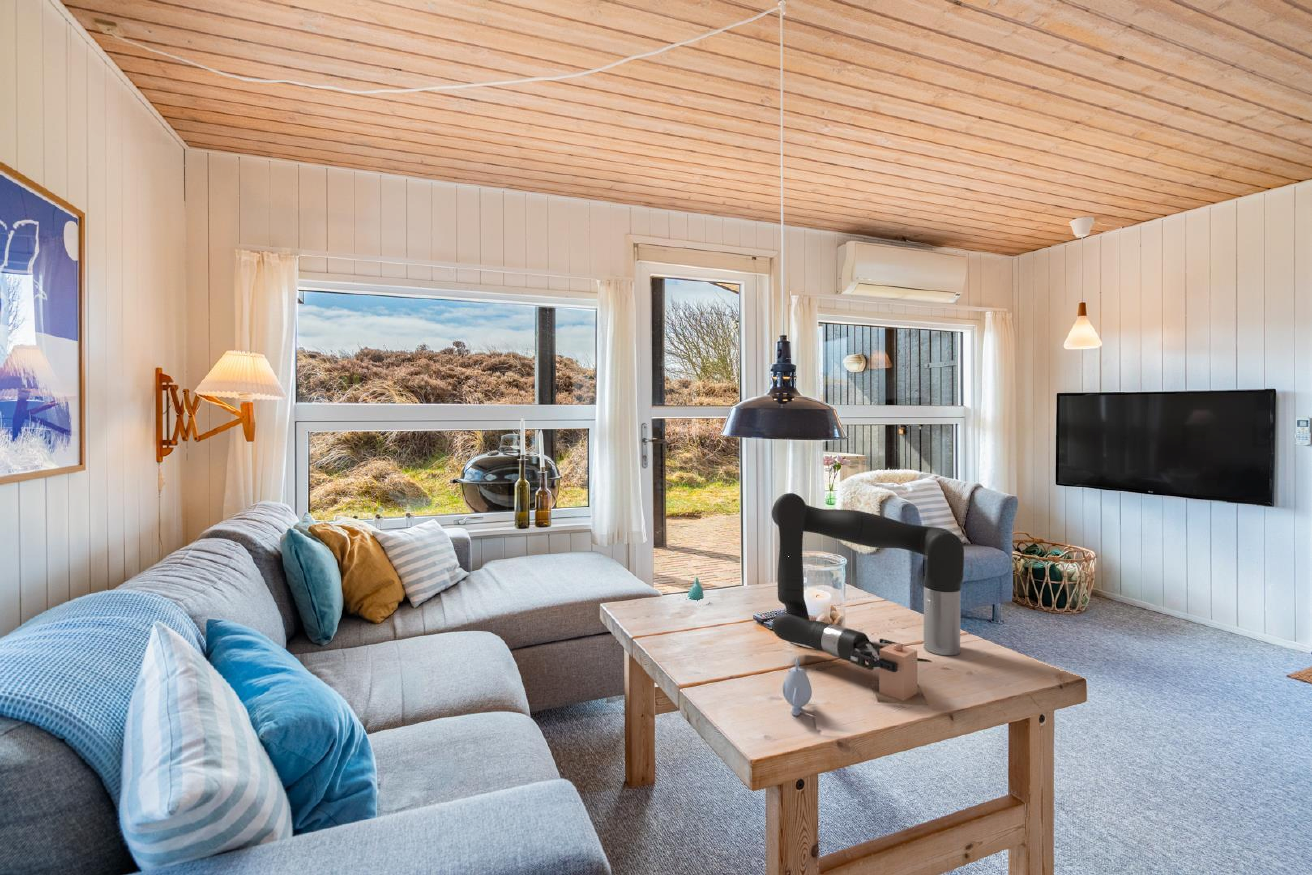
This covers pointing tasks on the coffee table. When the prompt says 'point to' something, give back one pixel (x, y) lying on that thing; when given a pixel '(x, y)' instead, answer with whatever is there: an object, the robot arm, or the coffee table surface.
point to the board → (915, 699)
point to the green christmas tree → (696, 591)
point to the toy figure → (797, 688)
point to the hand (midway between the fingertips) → (906, 662)
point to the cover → (899, 672)
